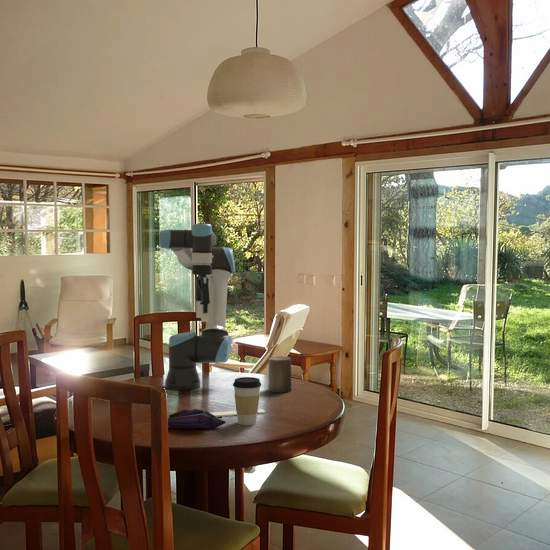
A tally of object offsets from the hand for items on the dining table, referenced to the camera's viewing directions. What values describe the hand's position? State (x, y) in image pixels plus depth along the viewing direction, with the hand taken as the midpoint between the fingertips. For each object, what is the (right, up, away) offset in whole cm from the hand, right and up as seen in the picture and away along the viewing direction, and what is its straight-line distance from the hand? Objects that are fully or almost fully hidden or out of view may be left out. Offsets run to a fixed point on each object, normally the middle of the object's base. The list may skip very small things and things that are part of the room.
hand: (202, 319), depth 236 cm
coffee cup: (+18, -34, -23) cm, 45 cm away
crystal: (+1, -35, -29) cm, 45 cm away
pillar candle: (+30, -32, +25) cm, 50 cm away
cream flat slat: (+12, -33, -13) cm, 38 cm away
